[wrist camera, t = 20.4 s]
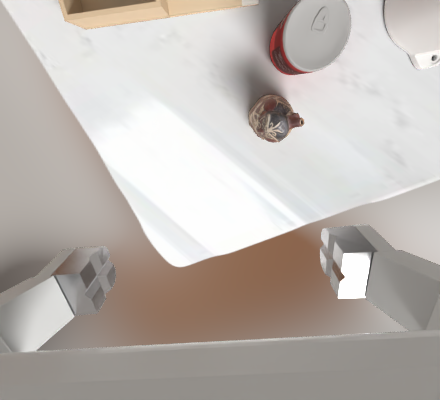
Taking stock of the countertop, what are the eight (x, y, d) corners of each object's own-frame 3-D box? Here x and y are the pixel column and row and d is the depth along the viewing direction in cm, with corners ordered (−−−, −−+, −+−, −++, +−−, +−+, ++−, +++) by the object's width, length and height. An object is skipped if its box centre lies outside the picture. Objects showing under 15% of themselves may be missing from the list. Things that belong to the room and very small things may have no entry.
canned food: (321, 13, 36) (358, -14, 26) (315, 74, 40) (345, 70, 30) (269, 16, 36) (286, -10, 26) (267, 76, 40) (281, 73, 30)
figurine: (246, 97, 41) (254, 101, 30) (289, 91, 41) (312, 93, 30) (250, 140, 44) (258, 157, 33) (290, 134, 44) (311, 150, 33)
